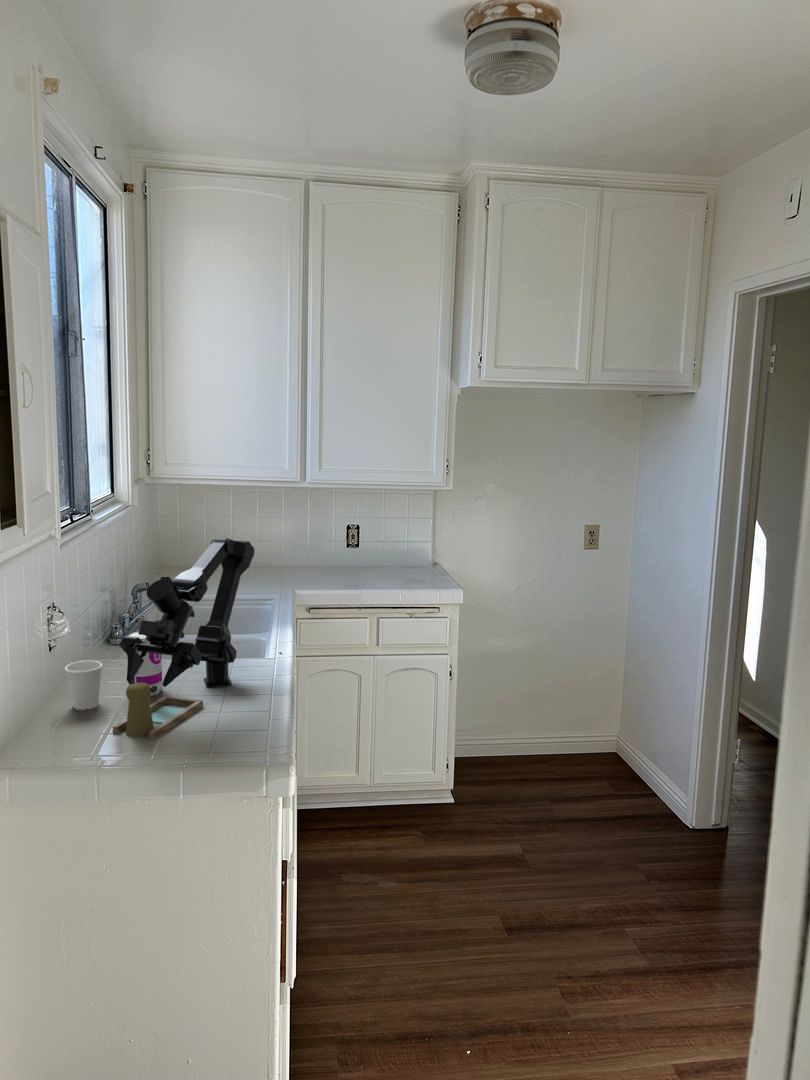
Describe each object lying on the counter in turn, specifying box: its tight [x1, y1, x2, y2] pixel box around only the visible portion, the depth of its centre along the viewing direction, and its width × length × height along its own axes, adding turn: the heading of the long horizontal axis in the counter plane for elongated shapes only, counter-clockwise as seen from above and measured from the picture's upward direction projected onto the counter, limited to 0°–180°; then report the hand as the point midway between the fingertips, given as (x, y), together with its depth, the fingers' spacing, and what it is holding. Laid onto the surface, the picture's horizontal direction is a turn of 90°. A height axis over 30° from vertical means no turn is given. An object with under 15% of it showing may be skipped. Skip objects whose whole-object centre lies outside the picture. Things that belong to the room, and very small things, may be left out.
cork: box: [125, 682, 155, 738], centre depth 177 cm, size 6×6×11 cm
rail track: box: [112, 695, 204, 740], centre depth 185 cm, size 20×10×2 cm, turn 163°
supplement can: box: [126, 631, 164, 697], centre depth 201 cm, size 8×8×15 cm
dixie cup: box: [64, 660, 103, 711], centre depth 192 cm, size 8×8×10 cm
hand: (145, 683), depth 179 cm, fingers open, 9 cm apart
